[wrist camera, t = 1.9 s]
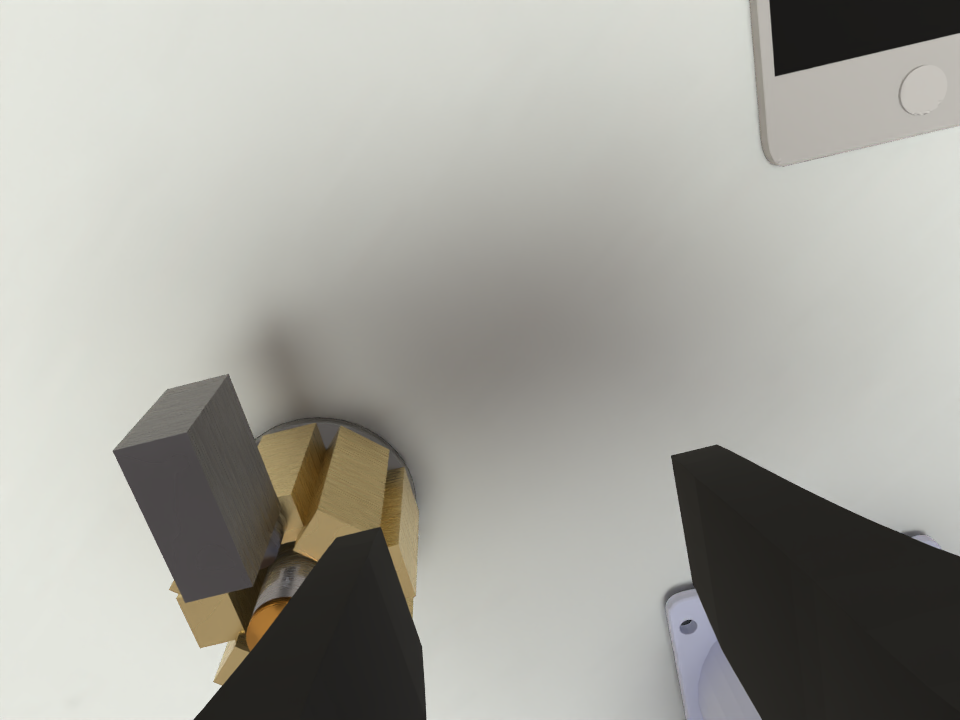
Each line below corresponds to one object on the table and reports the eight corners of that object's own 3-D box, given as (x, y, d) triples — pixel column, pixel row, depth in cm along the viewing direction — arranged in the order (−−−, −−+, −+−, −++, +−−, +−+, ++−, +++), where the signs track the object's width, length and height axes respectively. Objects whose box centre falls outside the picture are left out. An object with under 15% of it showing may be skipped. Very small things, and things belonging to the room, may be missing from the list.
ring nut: (436, 566, 20) (437, 771, 14) (261, 608, 20) (188, 829, 14) (349, 293, 17) (304, 403, 11) (147, 344, 18) (-4, 479, 12)
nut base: (435, 555, 21) (436, 702, 16) (265, 596, 21) (213, 755, 16) (386, 397, 19) (369, 506, 14) (200, 443, 19) (118, 567, 14)
